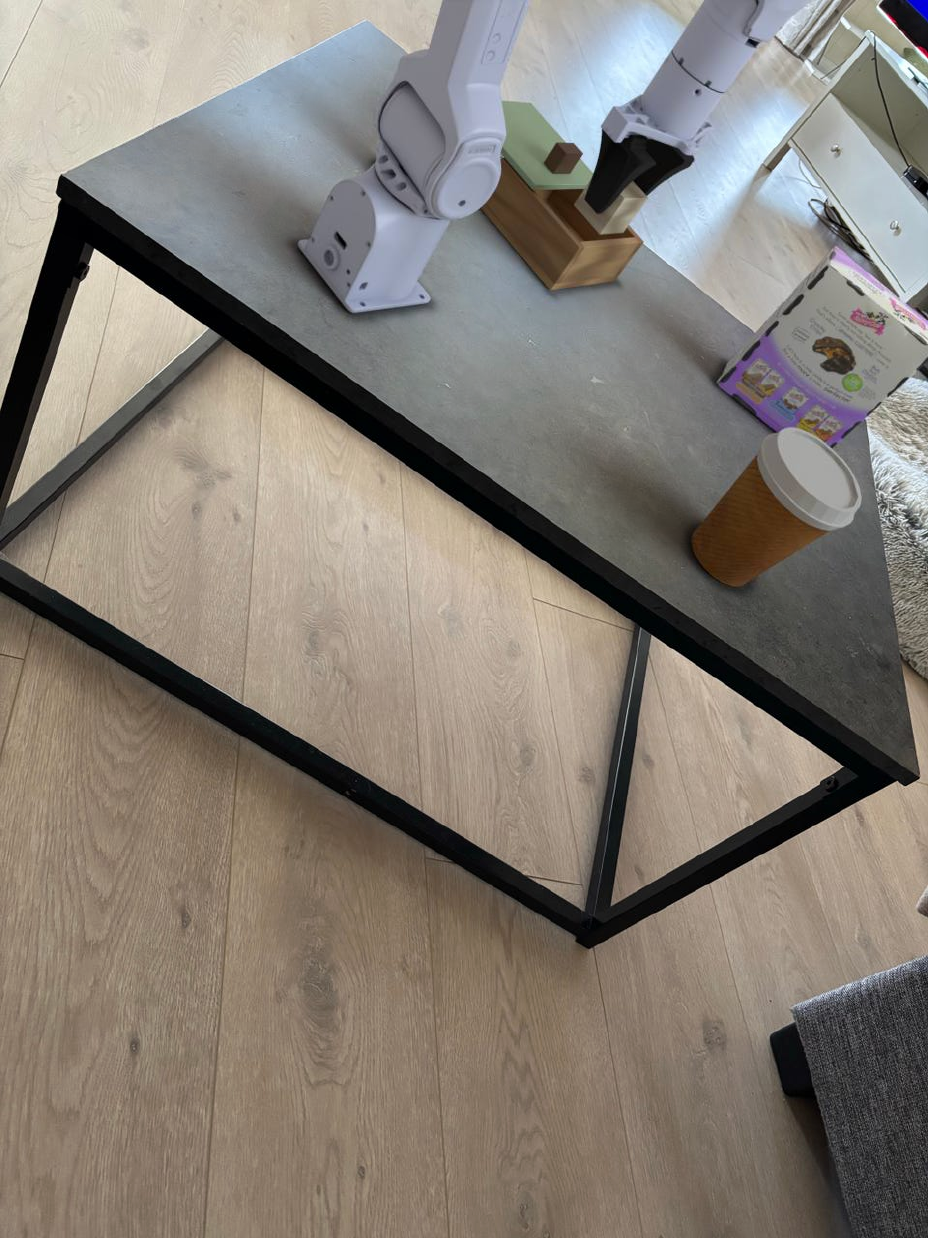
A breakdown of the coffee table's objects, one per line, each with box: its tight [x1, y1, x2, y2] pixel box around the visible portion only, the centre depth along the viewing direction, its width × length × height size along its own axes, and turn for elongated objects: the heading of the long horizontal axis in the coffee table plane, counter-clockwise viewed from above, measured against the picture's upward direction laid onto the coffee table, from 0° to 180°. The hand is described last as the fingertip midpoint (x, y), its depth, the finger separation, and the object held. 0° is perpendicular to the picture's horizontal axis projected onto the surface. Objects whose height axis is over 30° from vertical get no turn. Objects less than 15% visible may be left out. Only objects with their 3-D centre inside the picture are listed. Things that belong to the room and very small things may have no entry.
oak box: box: [480, 156, 645, 291], centre depth 99 cm, size 12×13×5 cm
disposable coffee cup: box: [691, 427, 863, 587], centre depth 80 cm, size 10×10×12 cm
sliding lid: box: [500, 100, 594, 190], centre depth 98 cm, size 12×13×3 cm
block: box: [574, 180, 649, 234], centre depth 90 cm, size 4×4×4 cm
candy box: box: [716, 245, 928, 450], centre depth 99 cm, size 14×6×16 cm, turn 65°
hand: (606, 205), depth 90 cm, fingers closed on block, 4 cm apart
